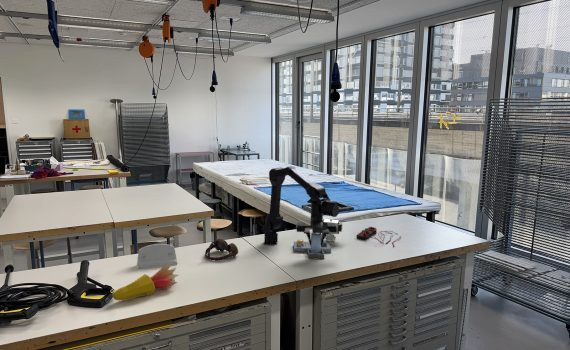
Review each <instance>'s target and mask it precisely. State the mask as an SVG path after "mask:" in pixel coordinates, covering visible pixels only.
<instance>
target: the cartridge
mask: <svg viewBox="0 0 570 350" xmlns="http://www.w3.org/2000/svg"><path fill="white" fill-rule="evenodd" d="M321 235H322V233H313V232H312V231H311V232H310V238H311V252H312V253H320V252H321Z"/></svg>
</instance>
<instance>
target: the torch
mask: <svg viewBox="0 0 570 350" xmlns="http://www.w3.org/2000/svg"><path fill="white" fill-rule="evenodd" d="M172 263H173V262H172ZM172 263H169V264H167V265H165V266H163V267H160V268H159V270H158V271H157V272H155V273H154V274H153V275H152V276H149V275H147V274H146V273H145V274H143V275H141V276H140V277H139V278H137V279H135V280H134V281H132V282H131V283H128V284H127V285H125V286H123V287H120V288H119V287H118V289H116V290H115V291H114V292H113V293H112V298H113V299H114V300H115V301H126V300H131V299H134V298H135V299H136V298H138V297H145V296H154V294H155V291H156V290H167V289H169V288H170V287H173V286H174V285H176V284H178V282H177V281H176V279H175V278H176V277H178V276H180V274H176V273H174V272H175V271H176V269H177V267H173V268H171V267H172V266H171V265H172Z"/></svg>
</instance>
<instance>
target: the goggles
mask: <svg viewBox="0 0 570 350" xmlns="http://www.w3.org/2000/svg"><path fill="white" fill-rule="evenodd" d="M213 249H215V250H216V251H217V250H220V251H222V252H221V253H223V252H224V251H226V252H227V251H228V252H227V253H228V254H225V255H220V256H211V255H210V254H211V251H212V250H213ZM238 254H239V249H238V247H237V245H236V244H235V243H233V242H231V243H229V244H228V242H227V241H226V240H225V239H223V238H216V239H214V240H213V241H212V242H211V243H210V244H209V246H208V247H207V248H206V250H205V251H204V256H205V258H206V259H207V260H209V261H212V260H215V261H214V262H220V261H224V260H228V259H230V258H234V257H236V256H237V255H238ZM232 256H233V257H232Z"/></svg>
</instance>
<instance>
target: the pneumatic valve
mask: <svg viewBox="0 0 570 350" xmlns="http://www.w3.org/2000/svg"><path fill="white" fill-rule="evenodd" d="M323 222H327V224H335V225H336V227H337V232H336V233H333V232H330V234H327V235H326V237H325V239H324V240H325V242H329V243H334V241H336V239H337V237H336V235H339V234H340V232H343V223H342V222H341V220H335V219H333V218H330V219H327V218H326V219H324V218H323Z"/></svg>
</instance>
